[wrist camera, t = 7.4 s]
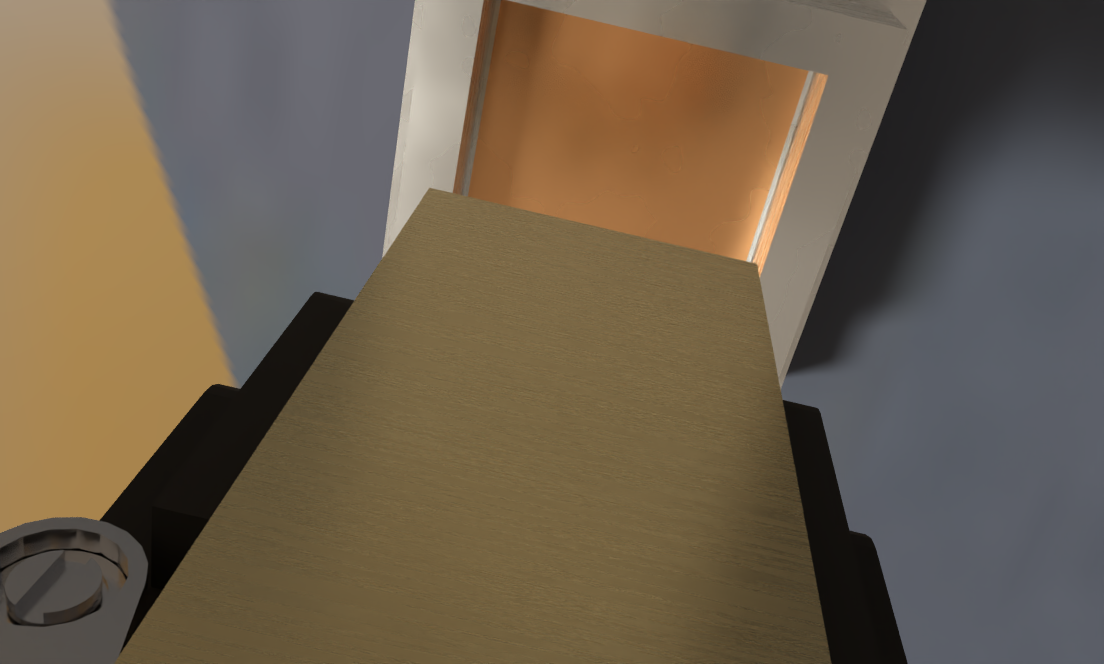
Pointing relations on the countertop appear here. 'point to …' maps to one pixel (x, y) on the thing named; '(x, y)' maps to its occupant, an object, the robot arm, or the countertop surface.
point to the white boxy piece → (658, 122)
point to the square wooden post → (515, 469)
